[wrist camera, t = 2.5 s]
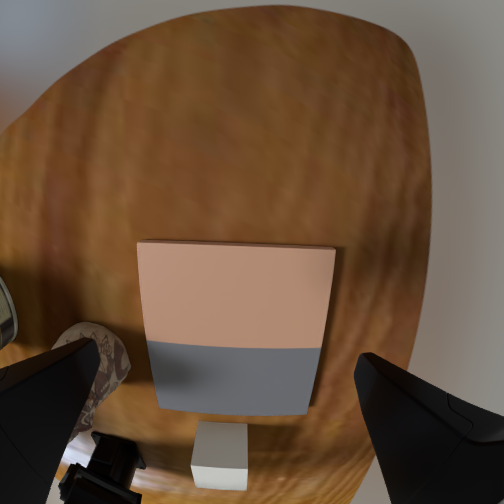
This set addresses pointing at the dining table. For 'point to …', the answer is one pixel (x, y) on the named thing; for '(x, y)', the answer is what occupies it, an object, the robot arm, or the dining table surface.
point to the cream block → (220, 456)
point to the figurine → (109, 370)
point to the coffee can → (7, 316)
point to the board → (234, 324)
